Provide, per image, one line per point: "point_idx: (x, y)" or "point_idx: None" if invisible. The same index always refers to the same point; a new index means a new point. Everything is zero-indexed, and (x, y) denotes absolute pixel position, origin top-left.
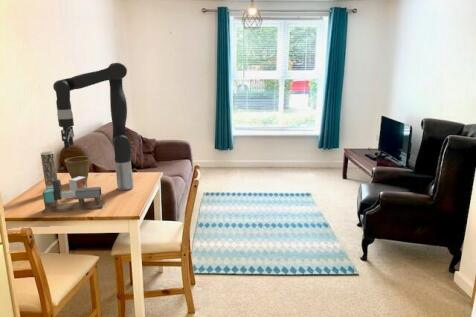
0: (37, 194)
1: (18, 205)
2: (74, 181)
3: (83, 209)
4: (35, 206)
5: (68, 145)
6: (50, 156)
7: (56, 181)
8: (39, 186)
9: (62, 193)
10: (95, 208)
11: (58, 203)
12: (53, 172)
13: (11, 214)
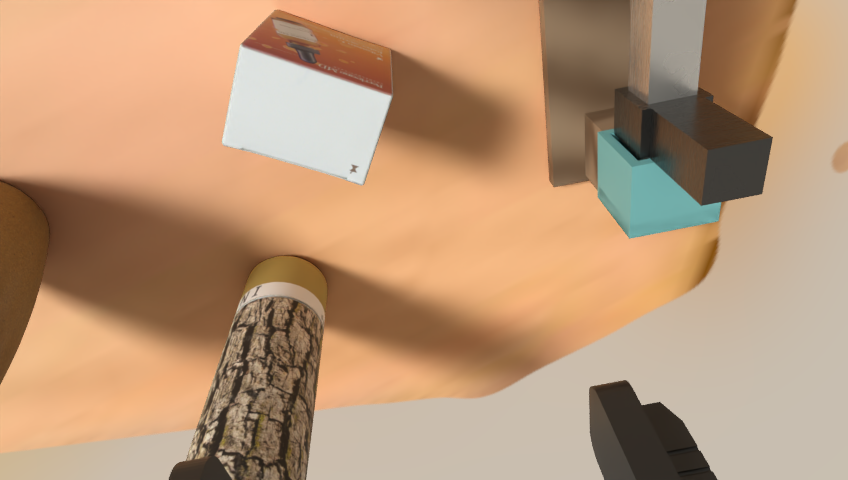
0: (321, 354)
1: (506, 347)
2: (386, 115)
3: None
4: (538, 258)
5: (658, 440)
6: None
7: (768, 156)
8: (172, 416)
9: (697, 75)
10: None
11: (554, 128)
12: (281, 375)
13: (642, 307)
